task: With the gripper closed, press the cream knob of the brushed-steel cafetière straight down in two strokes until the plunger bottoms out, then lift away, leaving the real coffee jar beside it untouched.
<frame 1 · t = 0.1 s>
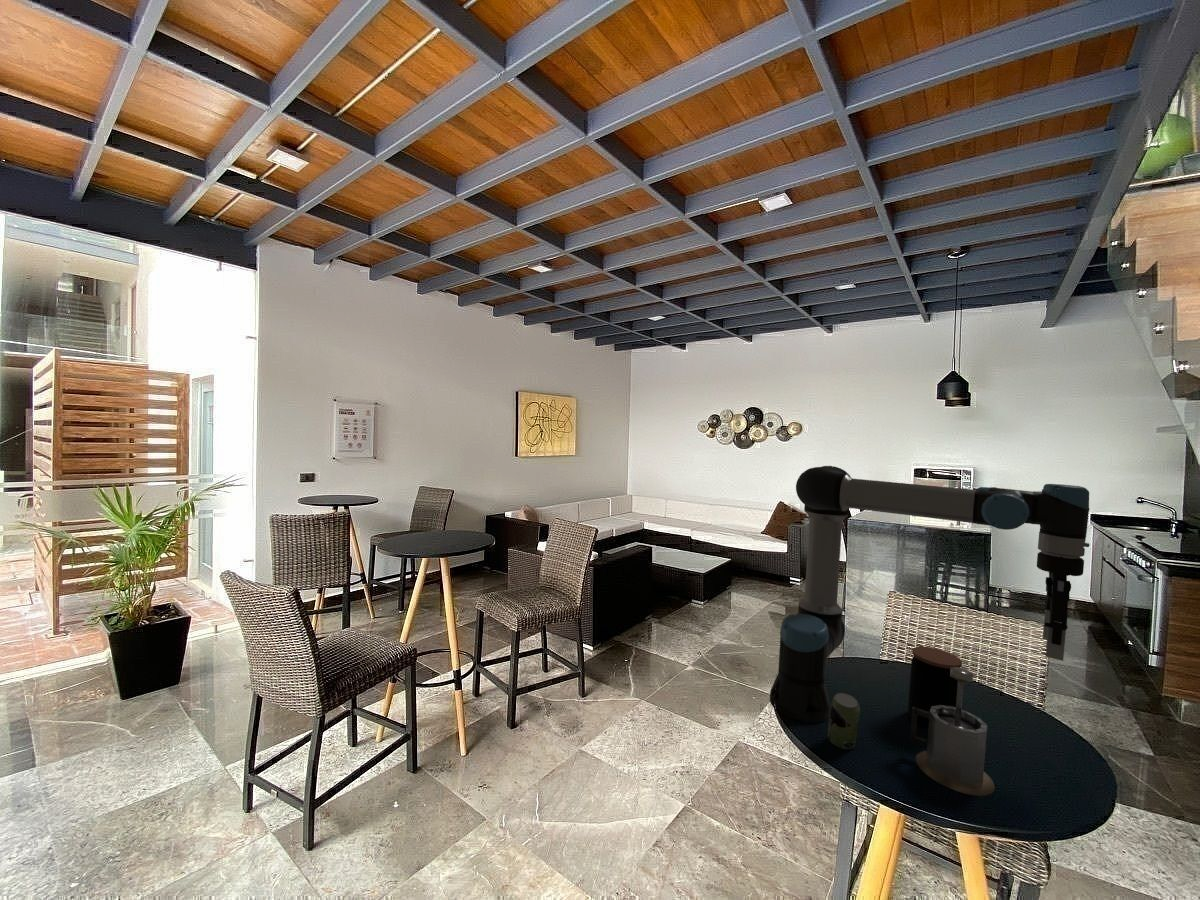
hand: (1052, 648, 108), 28 cm above the table, fingers open, 13 cm apart
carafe: (953, 771, 106), resting on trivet
beverage can: (841, 746, 115), on the table
coffee jar: (931, 724, 126), on the table
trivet: (953, 774, 106), on the table
plunger: (959, 700, 106), point 17 cm above the table, slide at 0.0 cm
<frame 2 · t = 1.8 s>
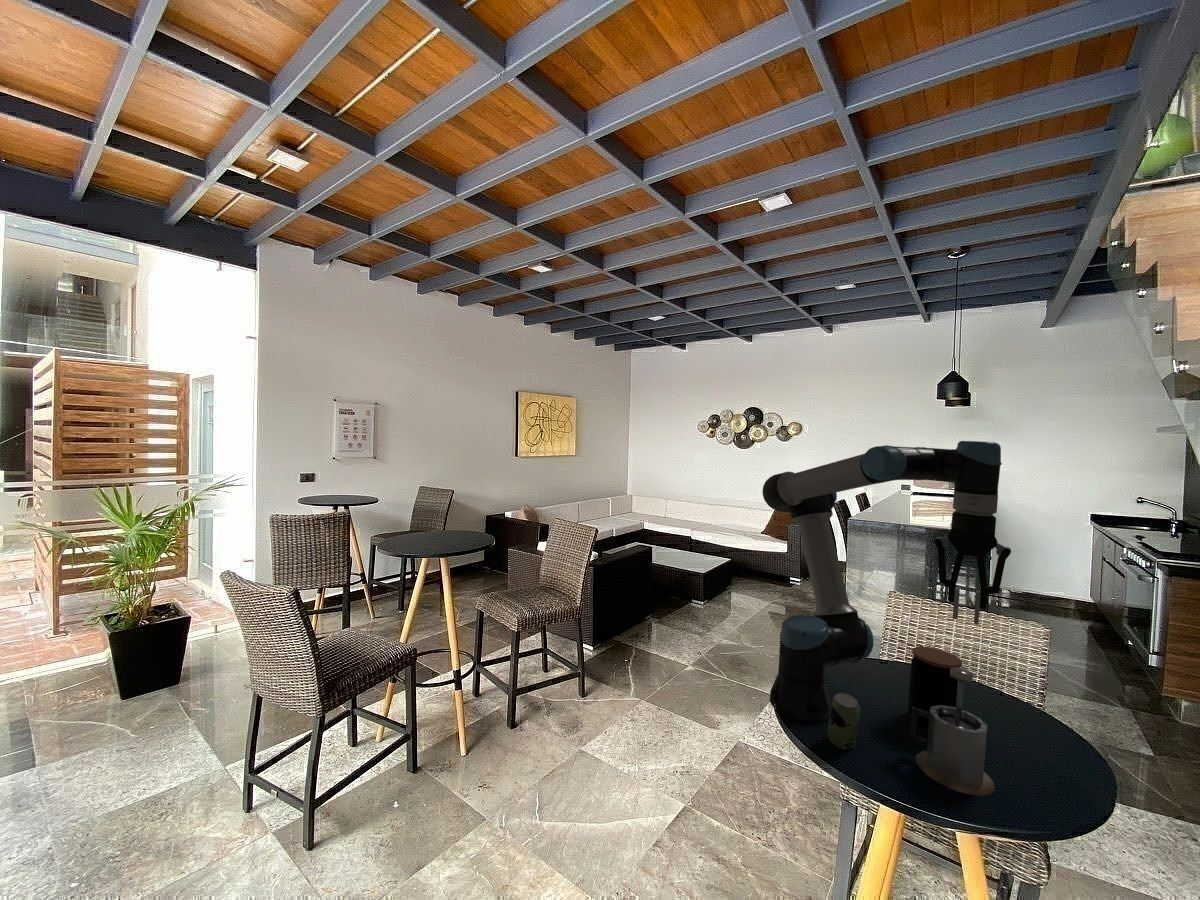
hand: (965, 619, 105), 35 cm above the table, fingers open, 3 cm apart
nothing on the table moved.
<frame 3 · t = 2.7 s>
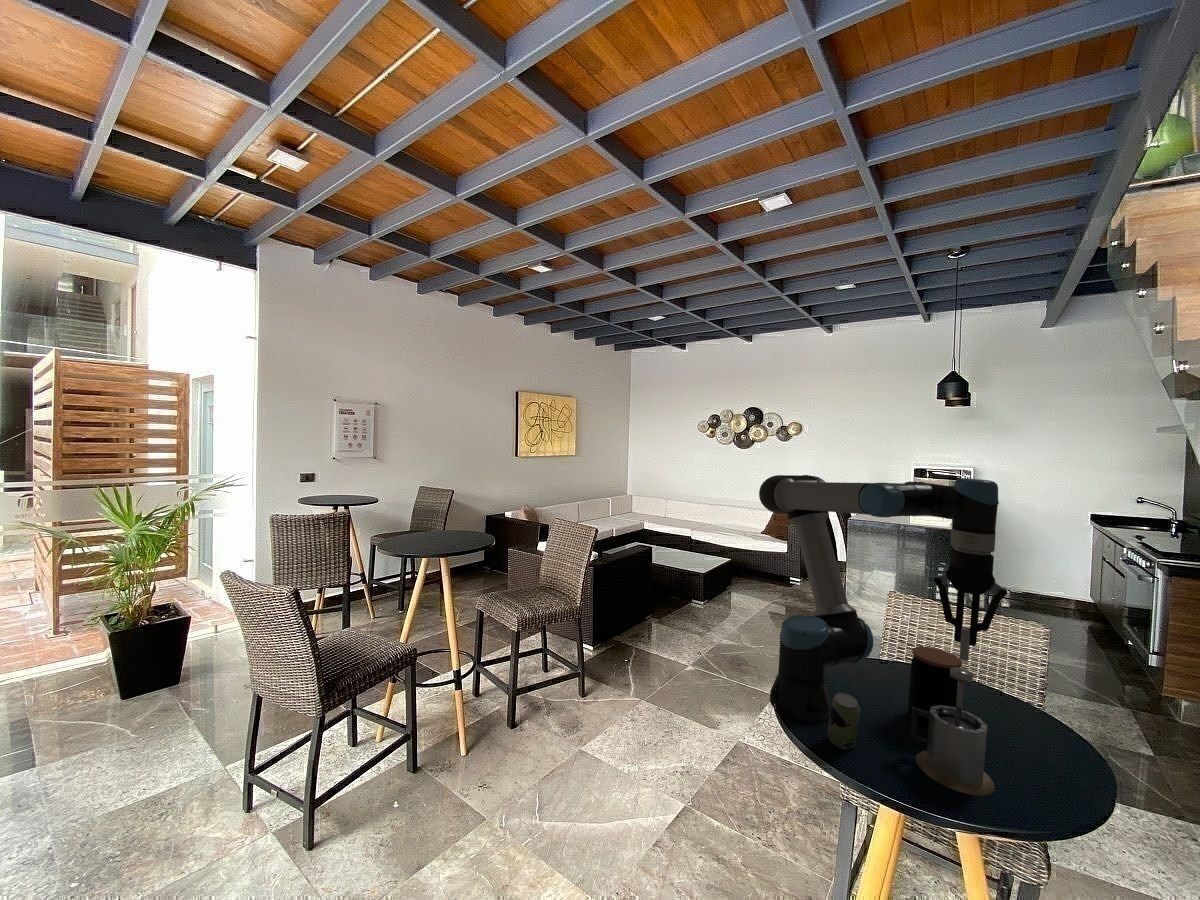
hand: (963, 657, 105), 26 cm above the table, fingers closed
nothing on the table moved.
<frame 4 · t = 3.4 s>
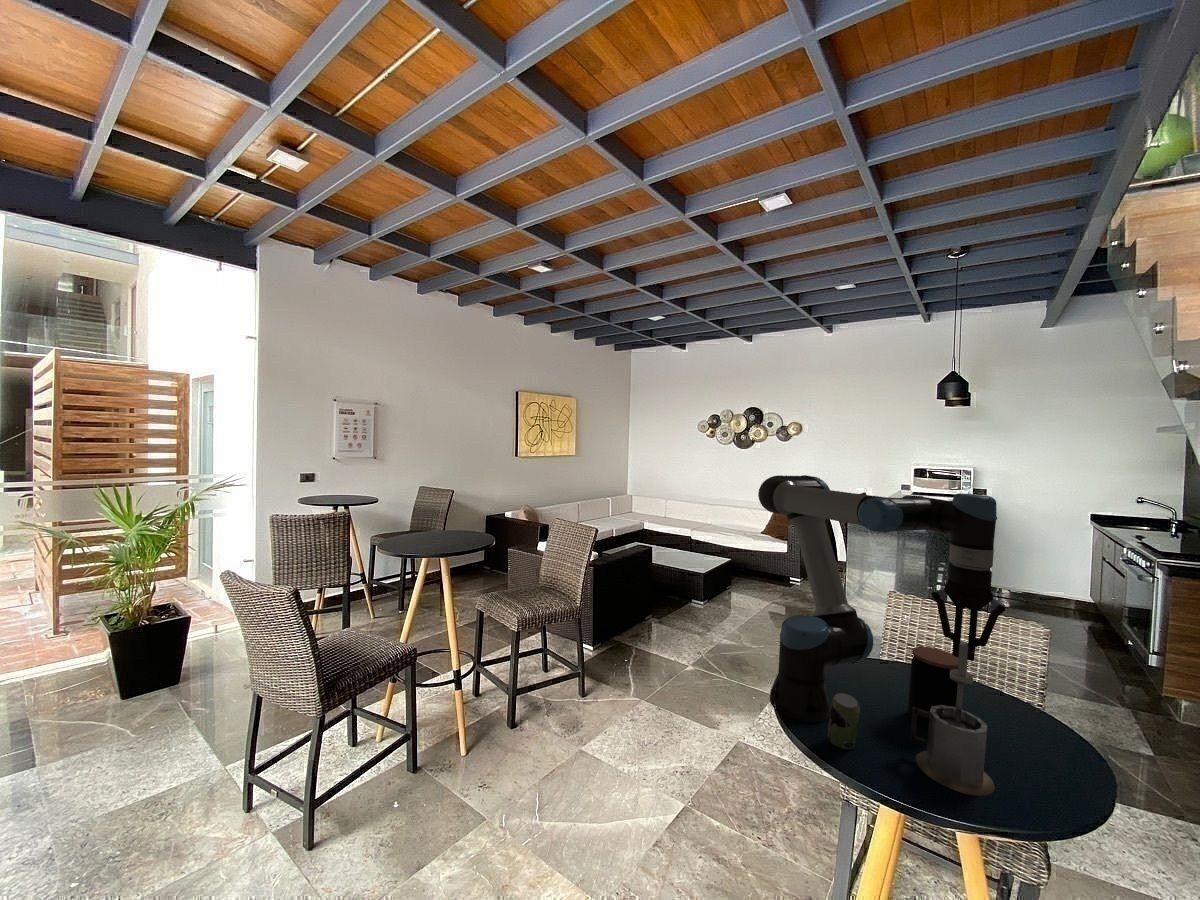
hand: (962, 672, 105), 23 cm above the table, fingers closed
plunger: (959, 702, 106), point 16 cm above the table, slide at 0.5 cm, touching gripper
everything else where it was.
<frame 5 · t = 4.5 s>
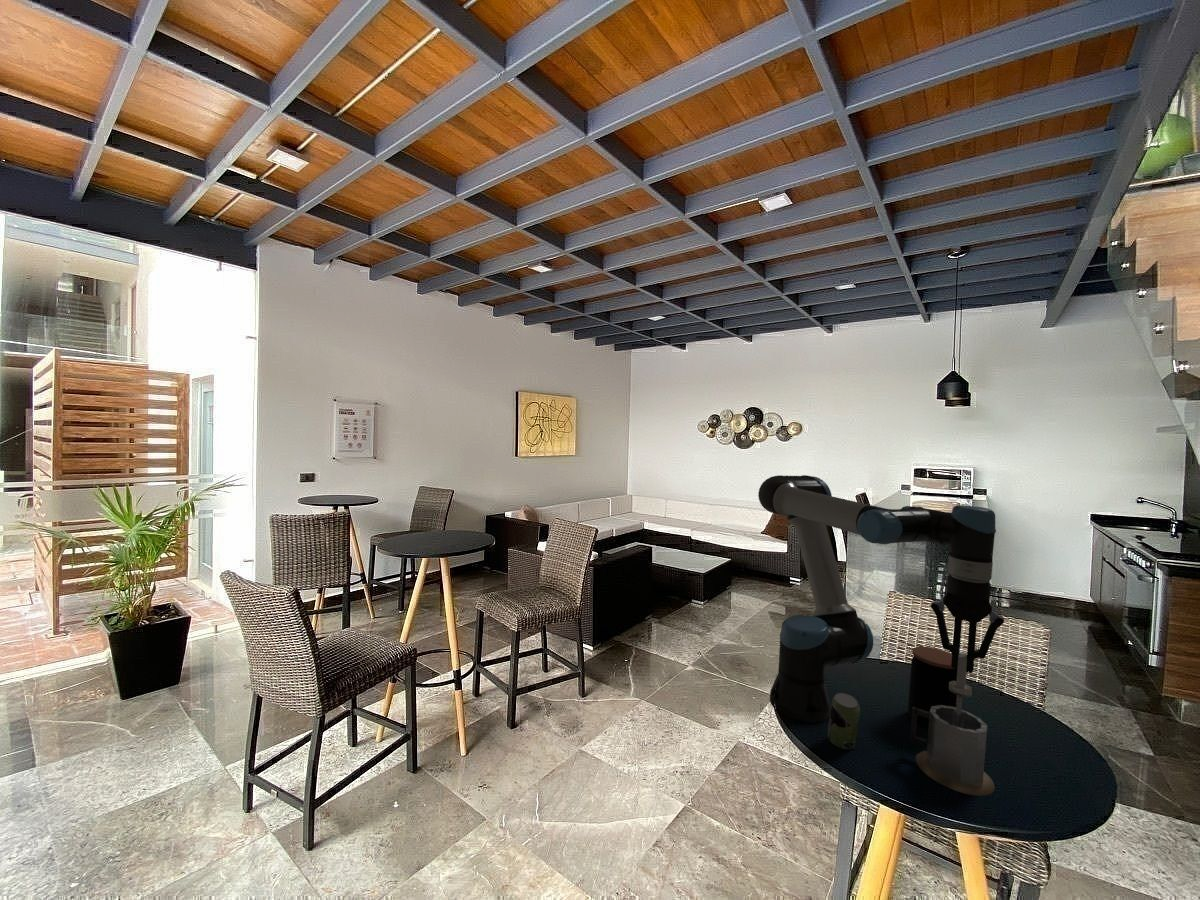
hand: (960, 684, 106), 20 cm above the table, fingers closed
plunger: (958, 714, 106), point 13 cm above the table, slide at 3.2 cm, touching gripper
everything else where it was.
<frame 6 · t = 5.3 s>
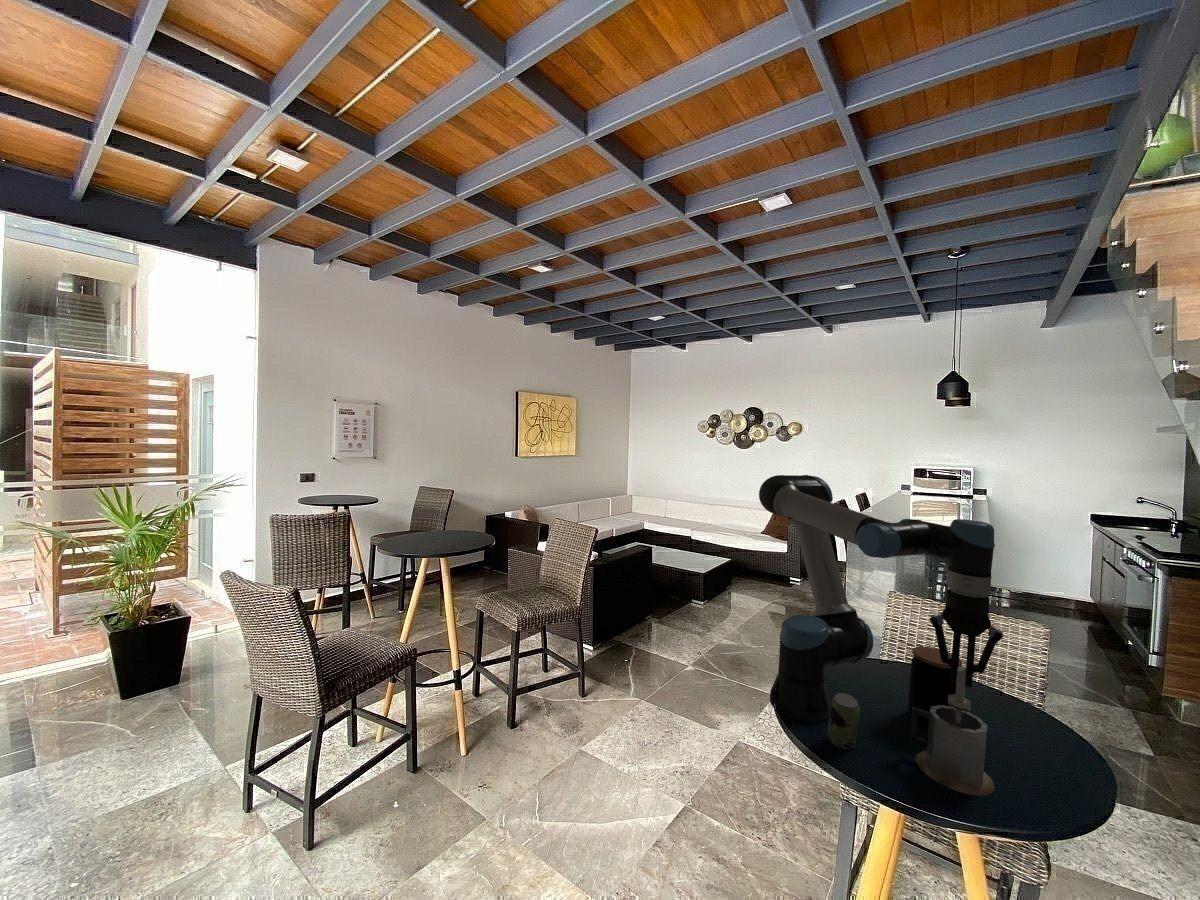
hand: (959, 698, 106), 17 cm above the table, fingers closed
plunger: (957, 728, 106), point 10 cm above the table, slide at 6.3 cm, touching gripper
everything else where it was.
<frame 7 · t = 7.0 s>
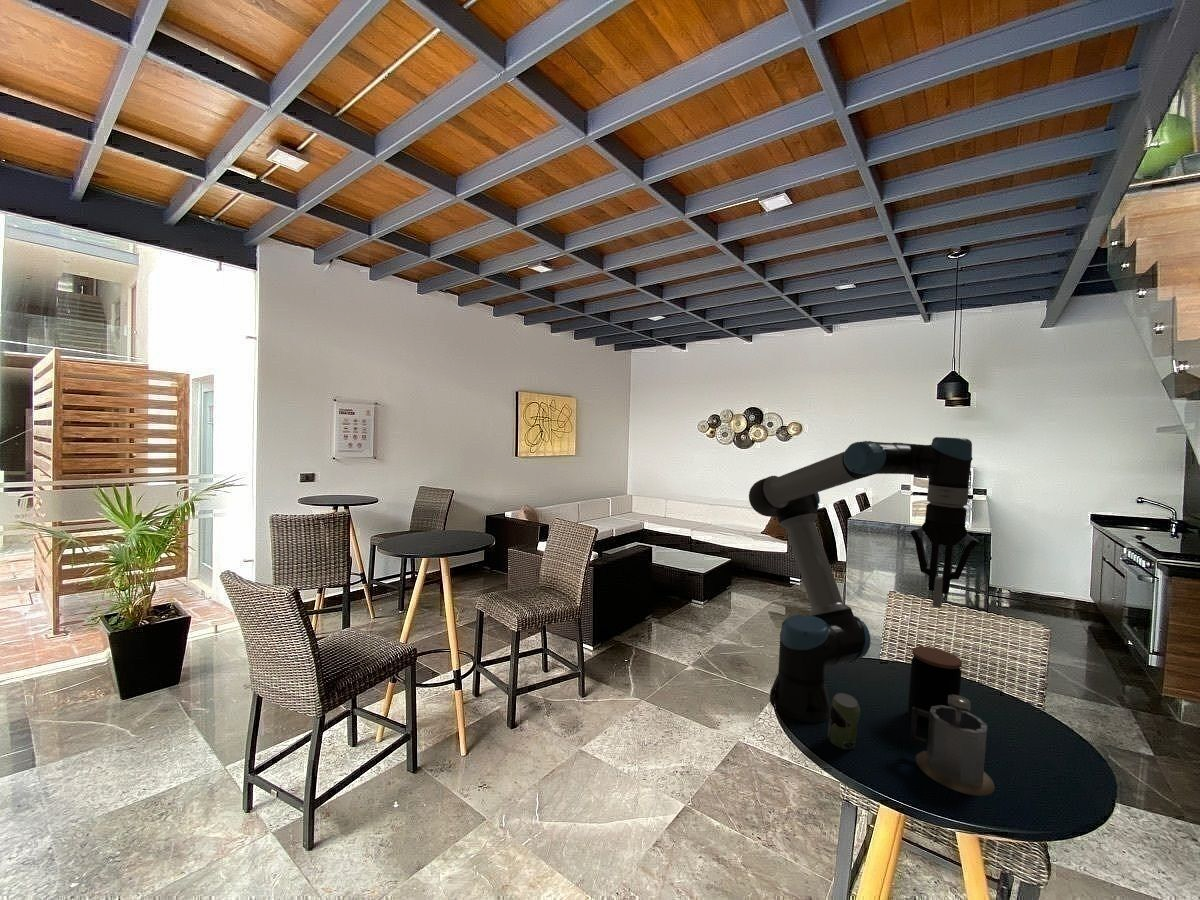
hand: (937, 605, 112), 35 cm above the table, fingers closed
plunger: (957, 728, 106), point 10 cm above the table, slide at 6.3 cm
everything else where it was.
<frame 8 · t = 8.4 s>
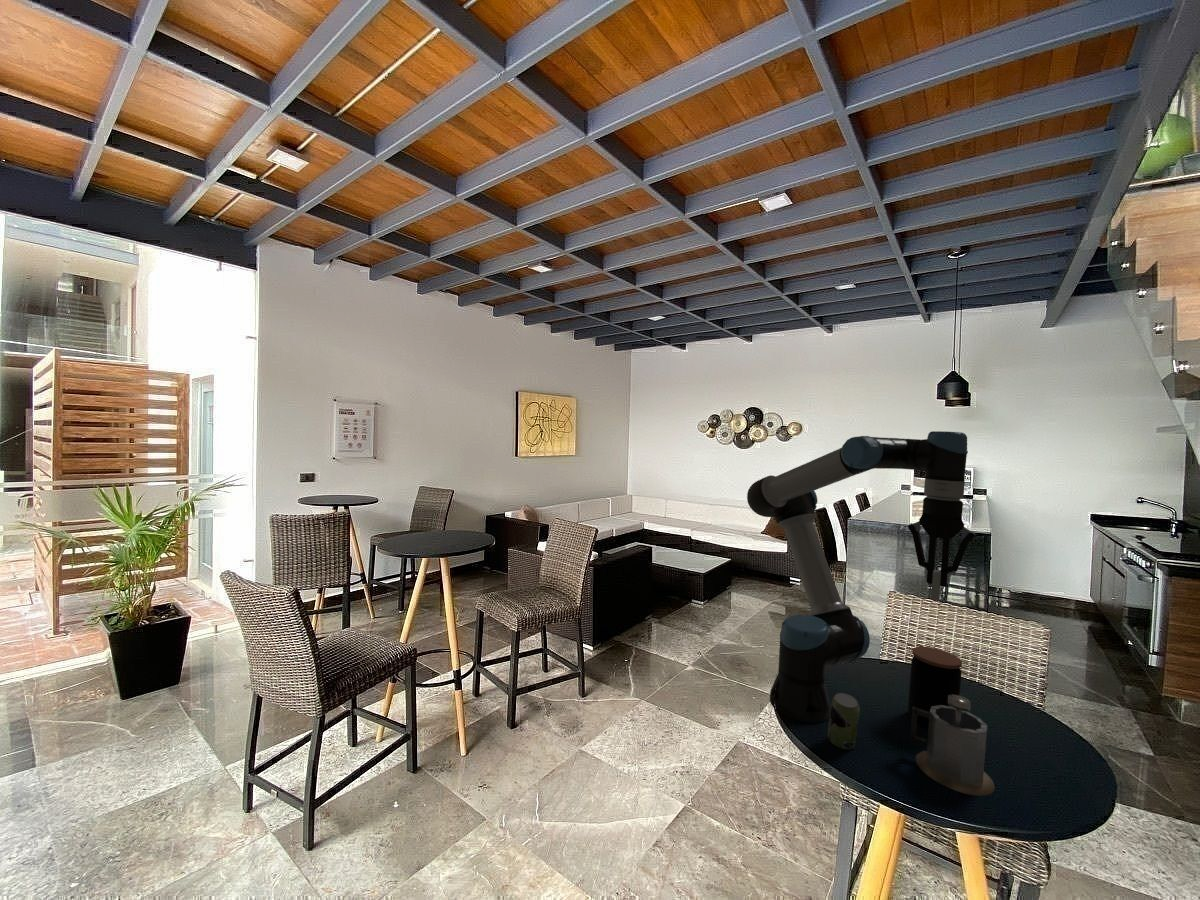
hand: (935, 598, 113), 36 cm above the table, fingers closed
nothing on the table moved.
at the end: plunger slide at 6.3 cm; coffee jar moved 0.2 cm from its start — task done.
